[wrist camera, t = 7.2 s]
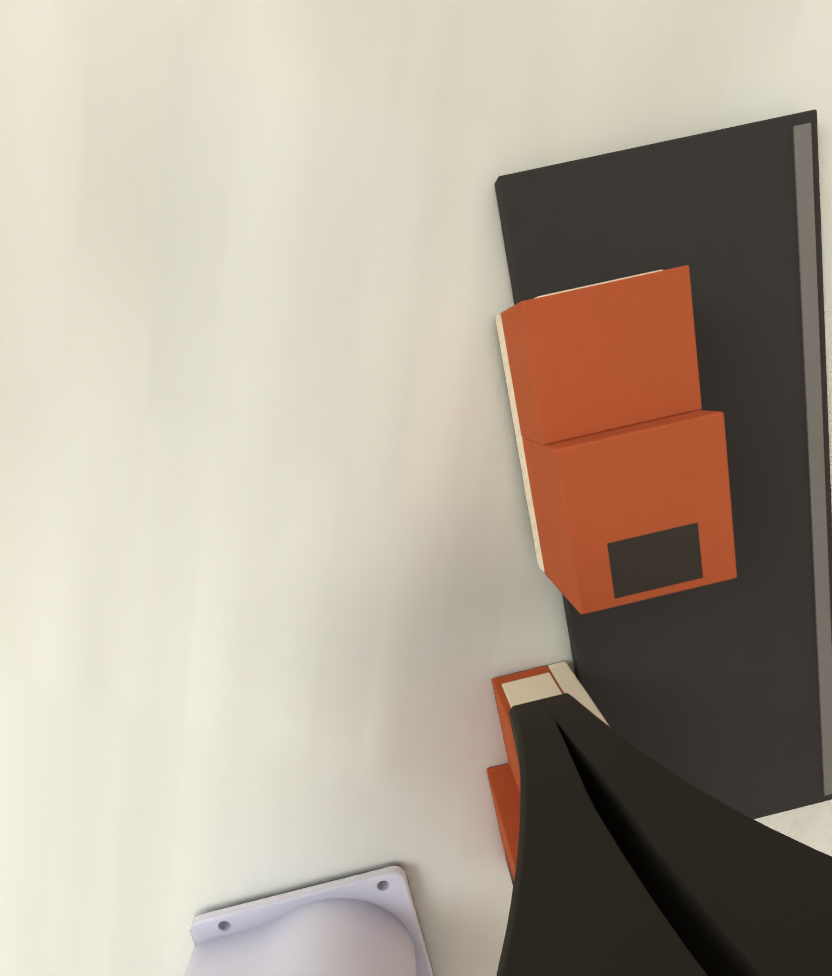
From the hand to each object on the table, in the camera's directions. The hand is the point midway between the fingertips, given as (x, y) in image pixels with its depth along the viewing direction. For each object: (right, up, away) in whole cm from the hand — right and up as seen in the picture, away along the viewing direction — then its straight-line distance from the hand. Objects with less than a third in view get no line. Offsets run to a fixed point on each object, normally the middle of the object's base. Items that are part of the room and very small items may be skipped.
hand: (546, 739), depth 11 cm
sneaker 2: (+1, +6, +6) cm, 9 cm away
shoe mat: (+8, +4, +9) cm, 13 cm away
